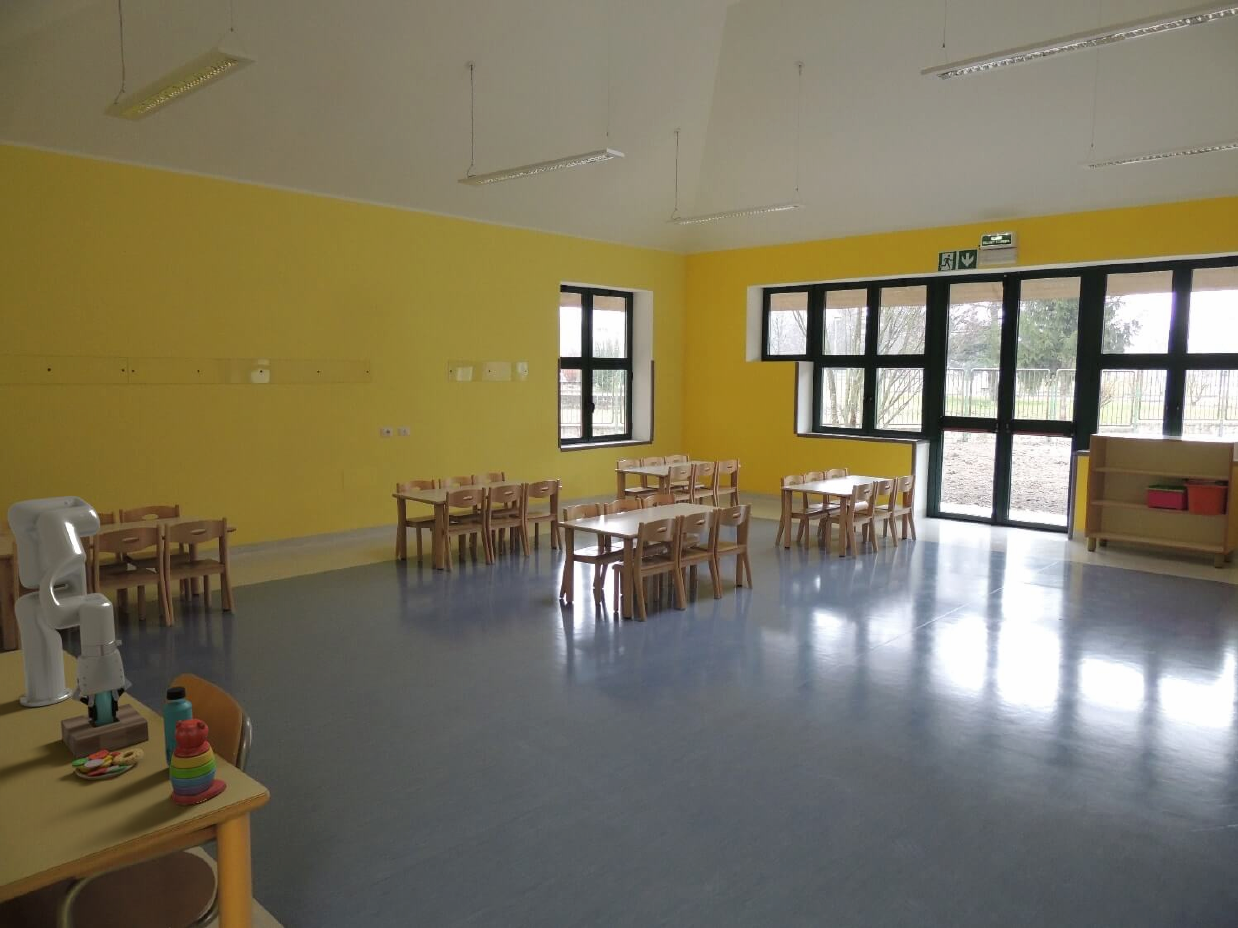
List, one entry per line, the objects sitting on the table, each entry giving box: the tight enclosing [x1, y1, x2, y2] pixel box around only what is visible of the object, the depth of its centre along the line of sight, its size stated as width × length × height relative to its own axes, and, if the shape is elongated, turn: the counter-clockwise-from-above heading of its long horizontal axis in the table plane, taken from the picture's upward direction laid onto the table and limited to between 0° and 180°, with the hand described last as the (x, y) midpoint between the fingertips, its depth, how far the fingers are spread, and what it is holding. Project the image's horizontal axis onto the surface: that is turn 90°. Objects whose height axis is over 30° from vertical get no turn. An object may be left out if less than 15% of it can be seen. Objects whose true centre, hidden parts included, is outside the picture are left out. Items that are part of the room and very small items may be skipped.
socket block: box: [60, 703, 150, 760], centre depth 225 cm, size 16×16×5 cm
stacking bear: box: [168, 718, 227, 805], centre depth 196 cm, size 11×10×18 cm
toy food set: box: [71, 748, 145, 781], centre depth 210 cm, size 13×13×3 cm
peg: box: [94, 691, 113, 728], centre depth 224 cm, size 4×4×12 cm
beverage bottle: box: [162, 686, 193, 768], centre depth 209 cm, size 6×7×20 cm
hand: (103, 716), depth 225 cm, fingers closed on peg, 3 cm apart
